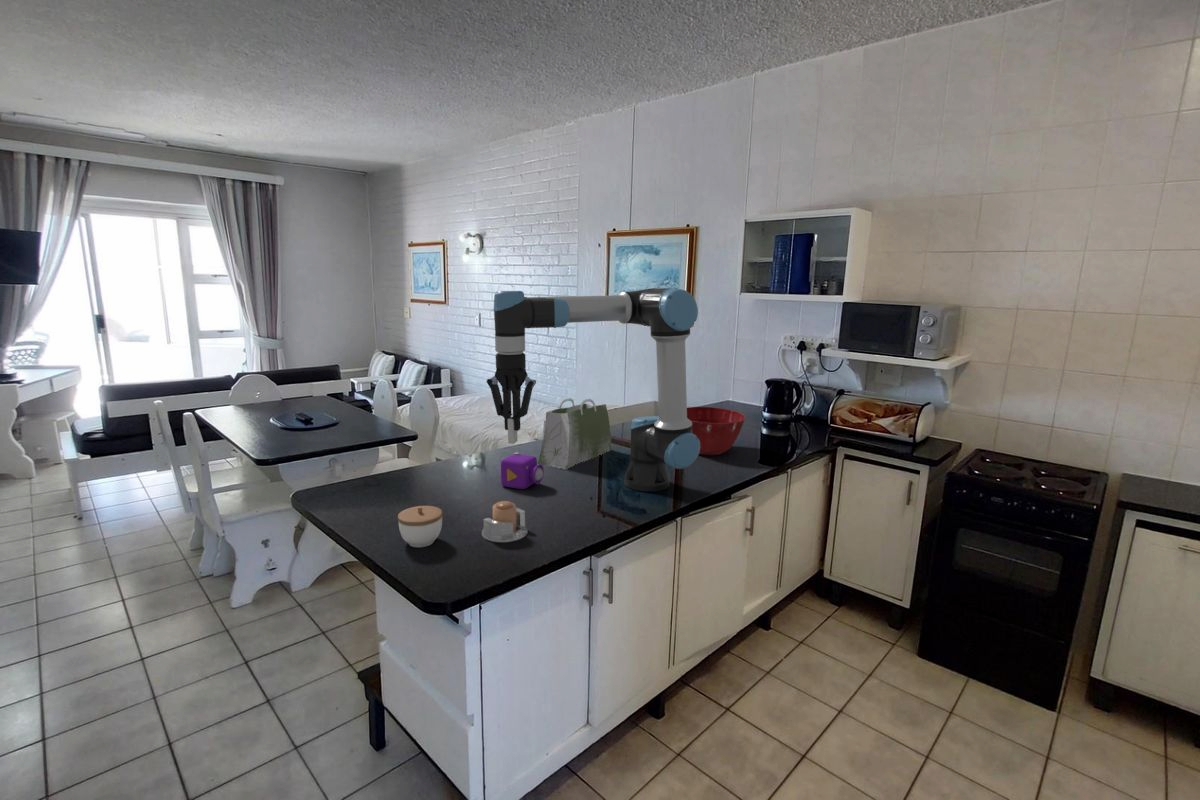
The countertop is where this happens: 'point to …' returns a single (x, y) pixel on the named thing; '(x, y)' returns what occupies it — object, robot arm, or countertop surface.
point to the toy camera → (520, 471)
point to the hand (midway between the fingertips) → (512, 442)
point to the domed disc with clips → (505, 529)
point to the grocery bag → (575, 434)
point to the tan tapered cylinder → (505, 512)
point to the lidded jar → (420, 525)
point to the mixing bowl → (715, 428)
